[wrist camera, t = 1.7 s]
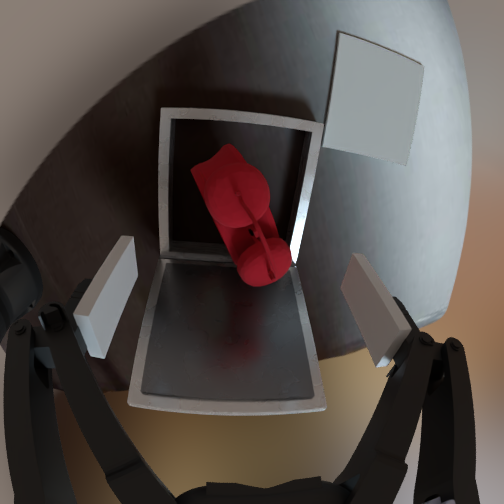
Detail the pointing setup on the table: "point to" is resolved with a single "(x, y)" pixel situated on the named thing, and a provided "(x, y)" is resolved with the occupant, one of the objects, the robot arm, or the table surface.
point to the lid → (225, 344)
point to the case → (165, 179)
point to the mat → (372, 101)
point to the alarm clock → (243, 216)
